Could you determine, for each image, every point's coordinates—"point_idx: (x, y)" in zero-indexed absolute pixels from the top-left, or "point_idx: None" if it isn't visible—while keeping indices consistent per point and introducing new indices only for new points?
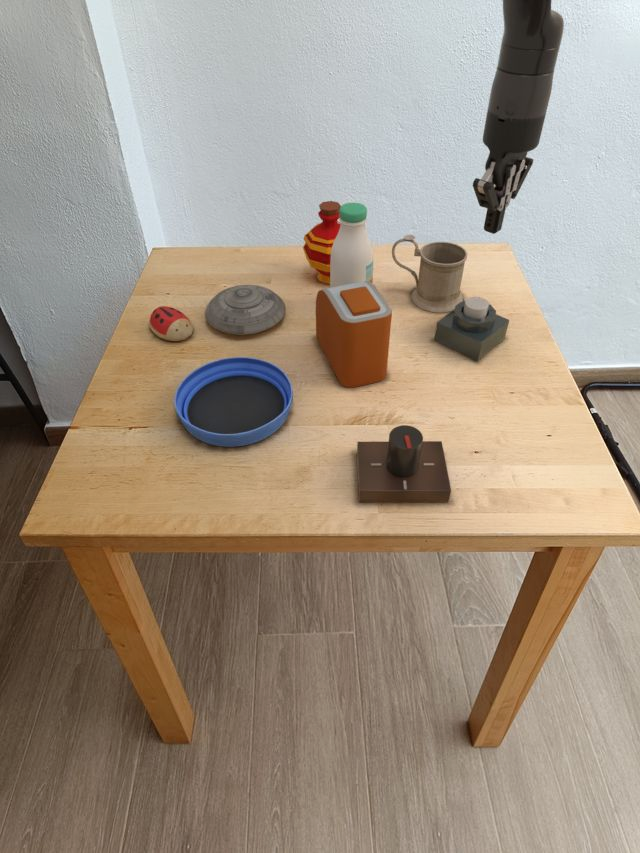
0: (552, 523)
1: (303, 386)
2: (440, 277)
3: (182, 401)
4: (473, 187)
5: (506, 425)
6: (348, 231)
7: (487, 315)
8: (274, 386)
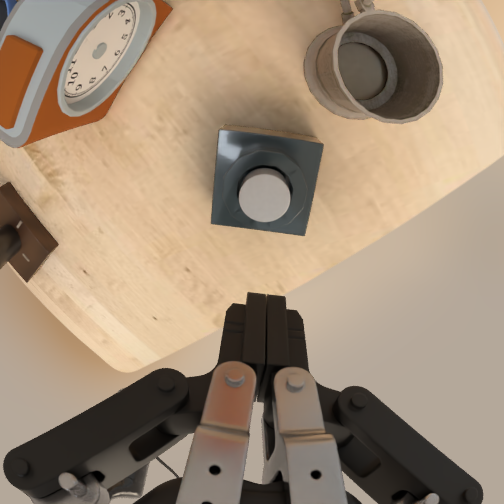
0: (82, 337)
1: None
2: (332, 81)
3: None
4: (19, 446)
5: (135, 283)
6: None
7: None
8: None
